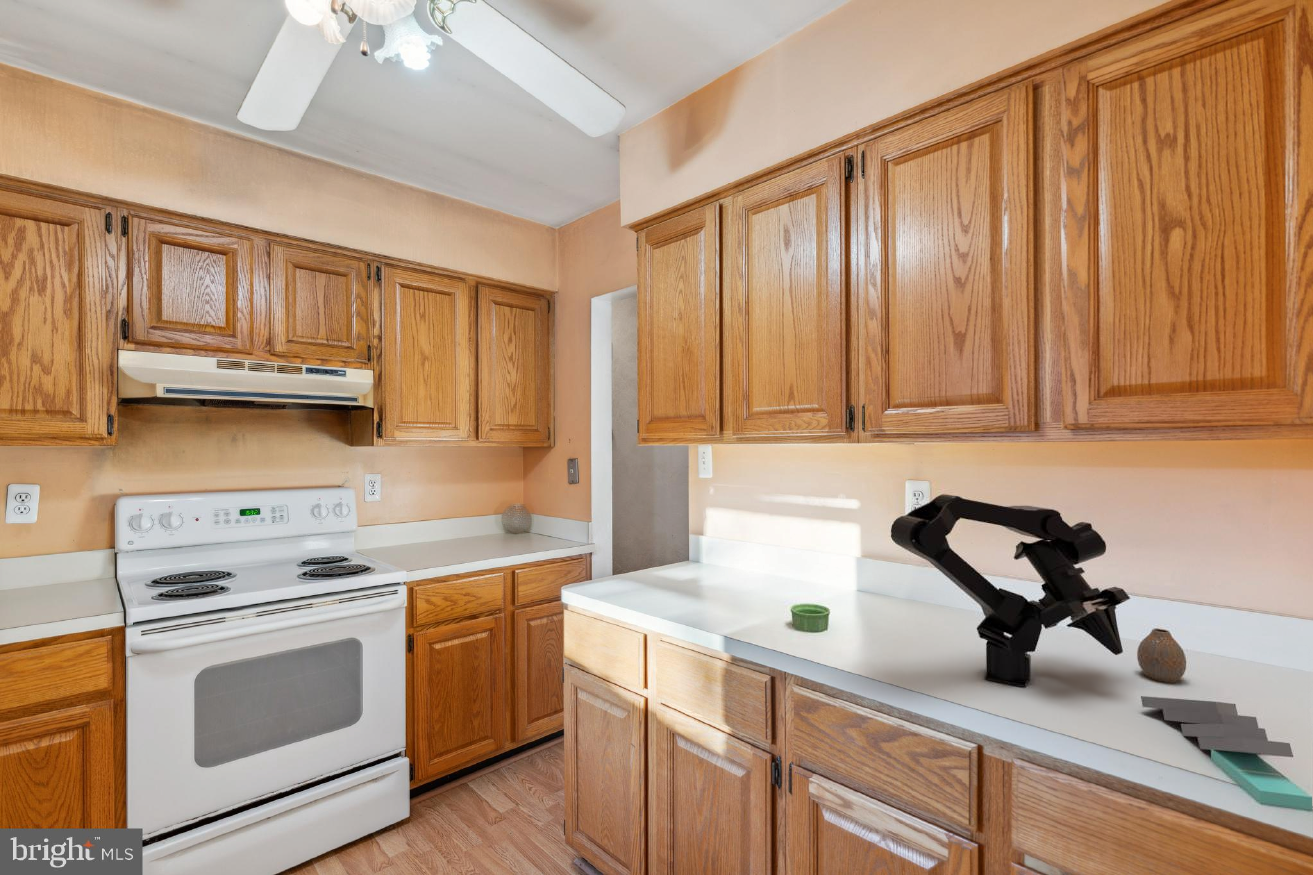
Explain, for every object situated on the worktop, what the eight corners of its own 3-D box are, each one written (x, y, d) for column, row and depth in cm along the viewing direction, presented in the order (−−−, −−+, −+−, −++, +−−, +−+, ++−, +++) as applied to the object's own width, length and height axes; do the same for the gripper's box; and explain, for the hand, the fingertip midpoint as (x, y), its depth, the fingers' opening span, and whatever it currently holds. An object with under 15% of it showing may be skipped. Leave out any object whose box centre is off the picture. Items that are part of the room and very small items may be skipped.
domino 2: (1162, 708, 94) (1220, 713, 85) (1194, 711, 94) (1256, 716, 85) (1164, 719, 94) (1223, 726, 84) (1196, 723, 94) (1259, 729, 84)
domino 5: (1211, 749, 83) (1260, 790, 73) (1256, 754, 82) (1312, 797, 72) (1211, 761, 83) (1260, 803, 73) (1256, 766, 82) (1312, 810, 72)
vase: (1163, 670, 114) (1162, 623, 114) (1197, 685, 107) (1196, 636, 107) (1127, 671, 114) (1127, 624, 114) (1159, 686, 107) (1159, 637, 107)
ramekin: (782, 625, 144) (782, 606, 144) (811, 619, 148) (811, 601, 148) (808, 636, 136) (808, 616, 136) (838, 629, 140) (838, 610, 140)
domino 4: (1197, 736, 86) (1241, 737, 78) (1239, 740, 85) (1289, 743, 76) (1200, 748, 86) (1245, 751, 77) (1242, 753, 84) (1293, 757, 76)
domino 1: (1140, 696, 97) (1215, 701, 89) (1159, 698, 99) (1235, 703, 90) (1142, 706, 97) (1218, 713, 88) (1161, 708, 98) (1238, 715, 90)
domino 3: (1180, 723, 90) (1219, 723, 82) (1221, 728, 89) (1264, 728, 80) (1183, 735, 90) (1222, 736, 81) (1224, 740, 88) (1268, 742, 80)
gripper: (1051, 584, 121) (1108, 661, 112) (993, 598, 112) (1049, 682, 104) (1099, 557, 113) (1163, 636, 105) (1040, 569, 105) (1105, 657, 96)
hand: (1119, 653), depth 102 cm, fingers closed
